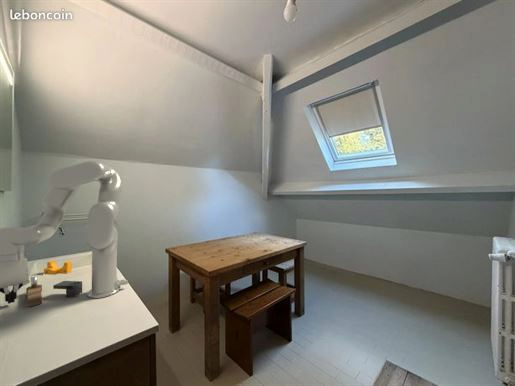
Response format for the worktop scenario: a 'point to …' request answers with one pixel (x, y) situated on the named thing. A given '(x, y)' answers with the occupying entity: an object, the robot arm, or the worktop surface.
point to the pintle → (33, 281)
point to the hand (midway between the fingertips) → (10, 301)
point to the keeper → (70, 287)
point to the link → (34, 295)
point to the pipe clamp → (57, 268)
